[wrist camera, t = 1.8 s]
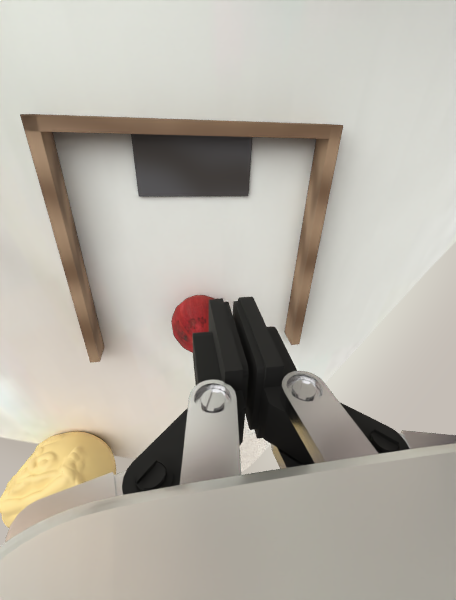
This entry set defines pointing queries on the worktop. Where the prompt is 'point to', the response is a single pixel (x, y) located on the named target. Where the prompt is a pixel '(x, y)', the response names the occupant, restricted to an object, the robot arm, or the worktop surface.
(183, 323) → the onion
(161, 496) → the robot arm
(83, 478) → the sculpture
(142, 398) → the worktop surface
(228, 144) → the wooden u-shaped frame
